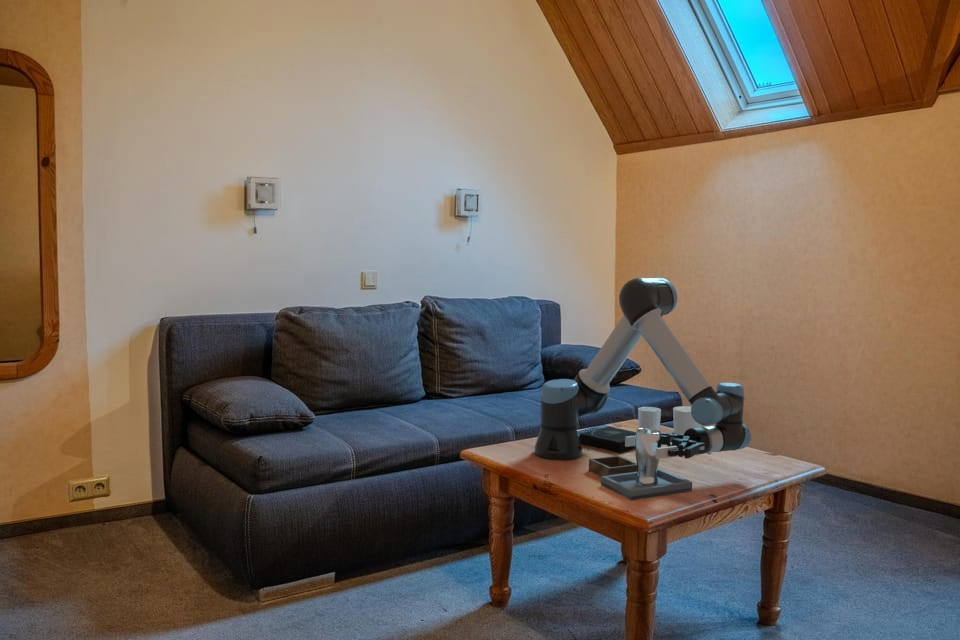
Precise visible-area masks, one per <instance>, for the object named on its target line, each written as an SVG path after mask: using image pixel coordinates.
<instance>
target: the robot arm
mask: <svg viewBox="0 0 960 640" xmlns="http://www.w3.org/2000/svg"><path fill="white" fill-rule="evenodd" d="M618 303H619V308H620V309H621V312H622V314H623V315H622V317H621V318H620V319H619V321H618V322H617V324H616V326H615V327H614V328H613V330H612V331H611V333H610V334H609V336H608V337H607V339H606V340H605V342H604V343H603V344H602V346H601V348H600V349H599V351H598V352H597V353H596V355H595V357H594V358H593V360H592V361H591V362H590V364H589V365H588V367H587V368H582V369H580V370H579V371H578V373H576V376H575V377H574V379H569V378H559V379H551V380H547V381H546V382H544V383H543V384H542V386H541V392H540V430H539V432H538V435H537V438H536V442H535V445H534V454H535V455H536V456H537V457H539V458H543V459H548V460H559V461H561V460H562V461H568V460H569V461H570V460H574V459H578V458H581V457H582V456H583V448H582V447H583V446H582V444H581V443H580V440H579V433H578V418H581V417H586V416H590V415H594V414H596V413H598V412H600V411H601V410H602V409H603V408H604V407H605V406H606V404H607V402H608V400H609V395H608V394H609V393H610V392H611V391H610V390H611V386H610V383H611V381H612V380H613V378H614V377H615V376H616V374H617V373H618V372H619V370H620V369H621V367H622V366H623V364H624V363H625V361H627V359H628V357H629V356H630V354H631V353H632V351H633V350H634V349H635V347H636V346H637V345H638V343H639V342H640V340H641V339H642V337H643V339H644V340H645V342H646V343H647V345H648V346H649V347H650V349H651V350H652V351H653V353H654V354H655V356H656V357H657V358H658V360H659V361H660V363H661V364H662V366H664V368H665V370H666V371H667V373H668V375H670V377H671V378H672V379H673V381H674V382H675V384H676V385H677V387H678V389H679V390H680V391H681V392H682V394H683V395H684V397H685V398H686V400H687V401H688V402H689V404H690V407H691V414H692V417H693V419H694V420H695V421H696V422H697V423H699V424H701V427H697V428H689V429H687V430H686V432H685V433H684V435H683V434H677V435H675V433H674V431H672V432H661V448H656V459H659V460H660V459H661V460H662V459H667V458H677V457H678V458H683V457H684V458H685V459H690V458H692V457H694V456H698V455H704V454H708V455H712V454H713V453H719V452H720V453H721V452H730V451H731V452H733V451H737V450H738V451H739V450H742V449H745V448H747V447H748V446H749V445H750V443H751V440H752V433H751V432H750V428H749V427H748V425H746V424H745V423H744V405H745V404H744V403H745V388H744V386H743V385H742V384H741V383H735V382H719V383H718V384H717V385H716V390H715V389H714V388H713V386H712V385H711V384H710V383H709V382H710V381H708V379H707V378H706V377H705V375H704V374H703V373H702V372H701V370H700V368H699V367H698V365H697V364H696V363H695V361H694V360H693V359H692V358H691V356H690V355H689V353H688V352H687V350H686V349H685V348H684V346H683V345H682V343H681V342H680V341H679V339H678V338H677V336H676V334H674V332H673V331H672V330H671V328H670V326H669V325H668V324H667V323H666V321H665V319H664V318H663V316H665V315H666V316H667V315H668V314H670V313H671V312H672V311H674V309H675V308H676V306H677V303H678V294H677V289H676V287H675V286H674V284H673V283H672V282H671V281H669V280H668V279H666V278H664V277H663V278H662V277H657V276H653V277H635V278H632V279H629V280H628V281H627V282H626V283H624V284H623V286H622V287H621V290H620V291H619V294H618ZM635 439H636V436H627V437H625V446H626V447H629V446H635ZM662 445H663V446H662Z"/></svg>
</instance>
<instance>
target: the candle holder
mask: <svg viewBox="0 0 960 640" xmlns="http://www.w3.org/2000/svg"><path fill="white" fill-rule="evenodd" d="M672 411H673V412H672V413H673V416H672V417H673V432H674V433H675V435H677V434H683V435H684V433H685V432H686V430H687V429H689V428H697V427H702V425H701V424H699V423H697V422H696V421H695V420H694V419H693V417H692V414H691V406H685V405H684V406H683V405H682V406H674V407H672Z"/></svg>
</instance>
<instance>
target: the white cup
mask: <svg viewBox="0 0 960 640" xmlns="http://www.w3.org/2000/svg"><path fill="white" fill-rule="evenodd" d="M661 416H662V409H661V408H658V407H653V406H642V407H641V406H640V407H638V408H637V420H638V421H637V422H638V424H637V425H638V426H637V427H638V429H641V428H650V429H656V430H659V431H660V426H661V425H660V424H661Z"/></svg>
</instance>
